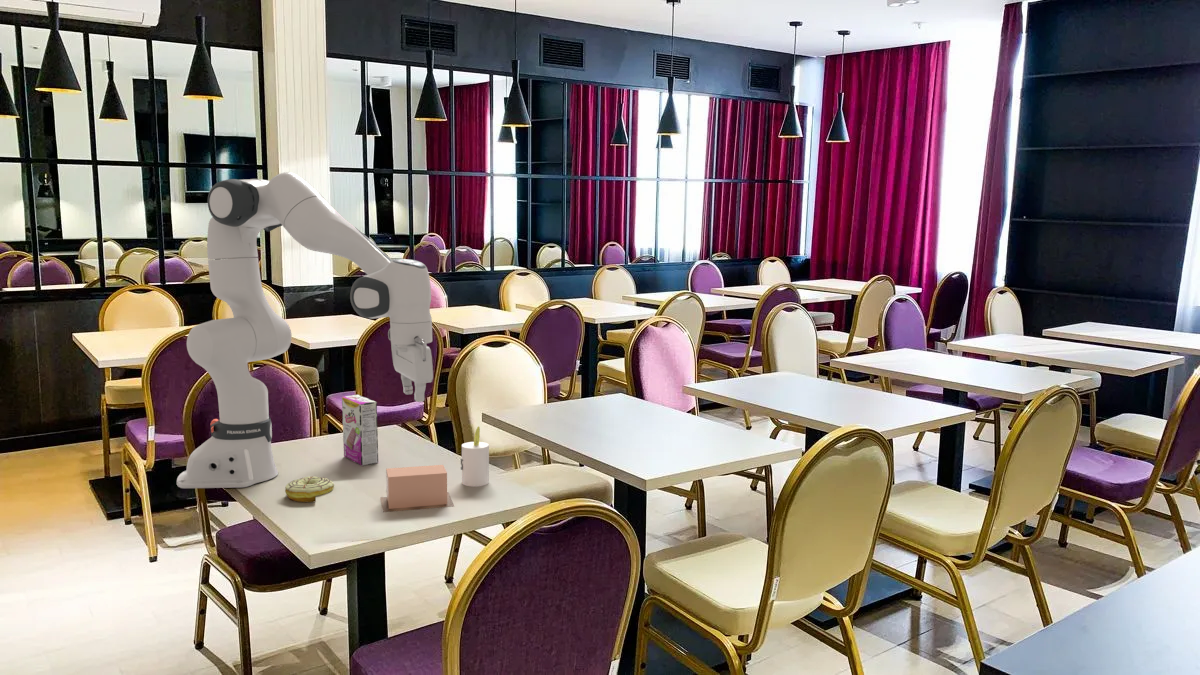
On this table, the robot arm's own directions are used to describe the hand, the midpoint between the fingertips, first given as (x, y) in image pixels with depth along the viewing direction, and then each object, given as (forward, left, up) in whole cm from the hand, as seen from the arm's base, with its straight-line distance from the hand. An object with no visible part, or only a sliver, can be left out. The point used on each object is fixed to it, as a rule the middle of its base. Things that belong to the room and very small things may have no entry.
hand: (413, 397), depth 194 cm
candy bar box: (-10, +40, -25) cm, 48 cm away
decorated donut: (-22, +13, -25) cm, 36 cm away
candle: (+15, +9, -25) cm, 30 cm away
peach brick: (0, -2, -23) cm, 23 cm away
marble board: (0, -2, -24) cm, 24 cm away
